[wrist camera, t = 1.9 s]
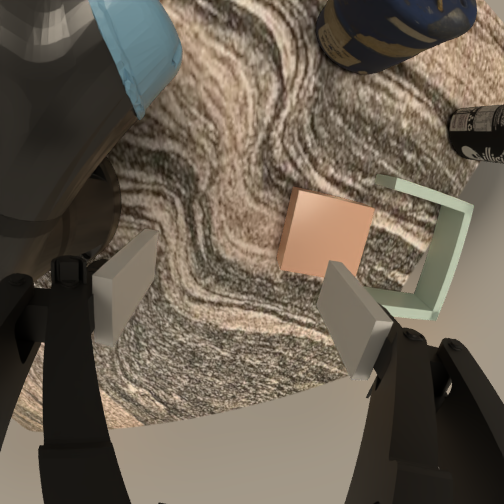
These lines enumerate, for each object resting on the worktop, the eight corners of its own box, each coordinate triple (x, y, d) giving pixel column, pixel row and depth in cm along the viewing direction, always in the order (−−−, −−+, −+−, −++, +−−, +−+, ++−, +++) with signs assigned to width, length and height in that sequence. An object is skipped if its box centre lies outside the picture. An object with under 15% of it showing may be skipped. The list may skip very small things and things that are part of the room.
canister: (395, 22, 27) (485, -37, 9) (386, 89, 29) (495, 54, 12) (318, -5, 26) (374, -97, 9) (305, 62, 28) (369, -15, 11)
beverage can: (483, 158, 32) (548, 168, 20) (448, 159, 32) (516, 169, 20) (477, 109, 30) (542, 106, 18) (442, 107, 30) (509, 100, 18)
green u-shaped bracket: (344, 293, 36) (358, 312, 32) (376, 173, 32) (397, 177, 28) (417, 303, 37) (436, 320, 33) (450, 198, 33) (474, 205, 29)
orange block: (276, 256, 35) (280, 269, 31) (292, 186, 33) (299, 190, 29) (342, 269, 36) (353, 282, 32) (360, 202, 34) (374, 208, 30)
